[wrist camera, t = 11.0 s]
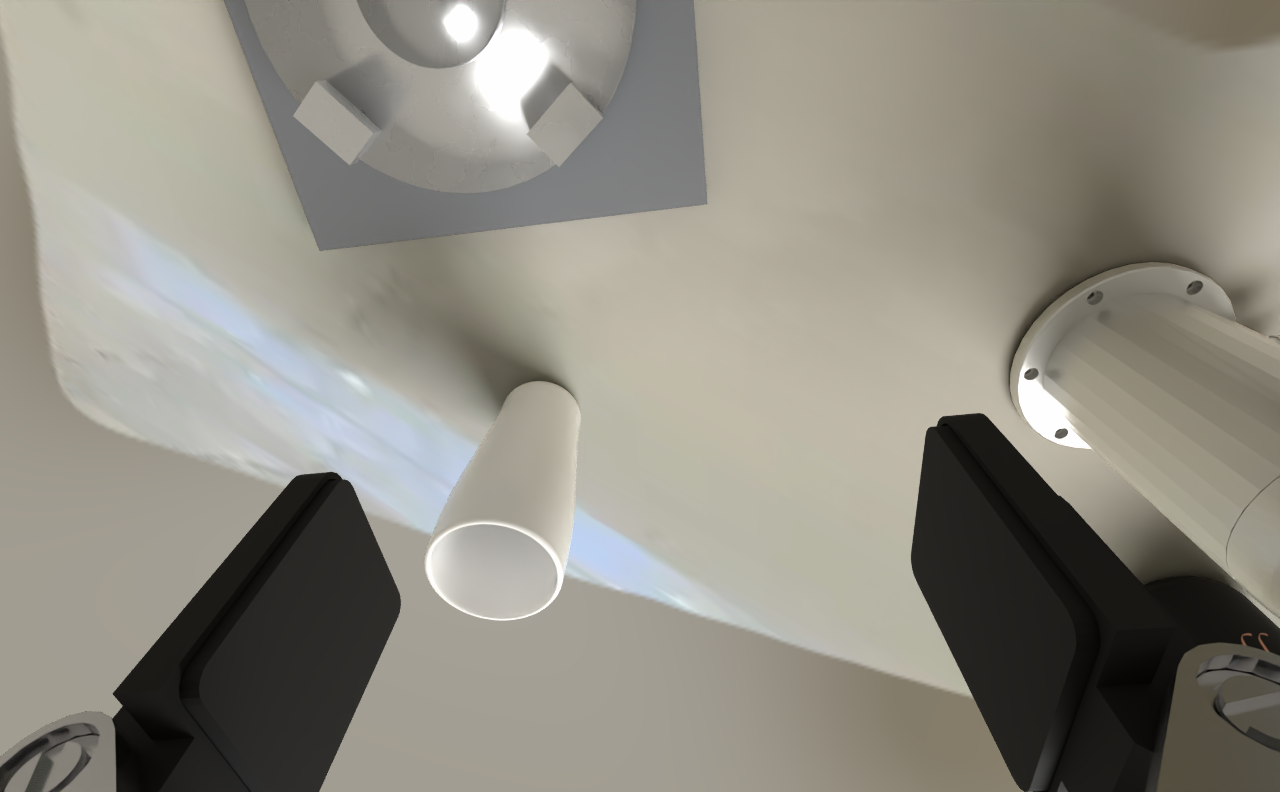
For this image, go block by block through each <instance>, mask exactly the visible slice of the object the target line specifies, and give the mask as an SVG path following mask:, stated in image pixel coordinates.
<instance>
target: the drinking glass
mask: <svg viewBox="0 0 1280 792" xmlns="http://www.w3.org/2000/svg"><path fill="white" fill-rule="evenodd" d="M580 424H581V414H580V409H579V406H578V404H577V402H576V400H575V399H574V398H573V396H572V395H571V394H570V393H569V392H568V391H566V390H565V389H564V388H562V387H560V386H559V385H556V384H554V383H550V382H545V381H532V382H528V383H524V384H522V385H520V386H518V387H517V388H515V389H514V390H513V391H512V392H511V393H510V394H509V395H508V396H507V398H506V399H505V401H504V403H503V406H502V408H501V410H500V412H499V414H498V416H497V418H496V419H495V421H494V423H493V424H492V426H491V427H490V429H489V431H488V432H487V434H486V436H485V437H484V439H483V441H482V442H481V444H480V445H479V447H478V449H477V450H476V452H475V453H474V455H473V457H472V458H471V460H470V461H469V463H468V465H467V466H466V468H465V469H464V471H463V473H462V474H461V476H460V478H459V479H458V481H457V483H456V484H455V486H454V488H453V490H452V491H451V493H450V495H449V497H448V499H447V501H446V503H445V505H444V507H443V509H442V512H441V514H440V516H439V519H438V521H437V523H436V526H435V528H434V531H433V533H432V536H431V539H430V542H429V544H428V547H427V549H426V552H425V558H424V566H425V572H426V575H427V578H428V580H429V582H430V584H431V586H432V587H433V589H434V590H435V591H436V592H437V593H438V595H440V597H441V598H442V599H444V600H445V601H446V602H447V603H449V604H450V605H452V606H453V607H455V608H457V609H458V610H460V611H463V612H465V613H468V614H470V615H473V616H476V617H480V618H484V619H491V620H514V619H520V618H524V617H527V616H531V615H533V614H535V613H537V612H539V611H541V610H543V609H544V608H545V607H547V606H548V605H549V604H550V603H551V602H552V601H553V600H554V599H555V598H556V596H557V595H558V593H559V591H560V589H561V586H562V582H563V577H564V573H565V569H566V565H567V561H568V556H569V552H570V546H571V540H572V533H573V525H574V514H575V493H576V470H577V450H578V435H579V430H580Z"/></svg>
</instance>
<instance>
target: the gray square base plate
mask: <svg viewBox="0 0 1280 792" xmlns="http://www.w3.org/2000/svg"><path fill="white" fill-rule="evenodd" d="M224 2H225V5H226V7H227V10H228V13H229V15H230V18H231V20H232V23H233V26H234V28H235V31H236V34H237V36H238V39H239V41H240V44H241V47H242V49H243V52H244V54H245V57H246V60H247V62H248V65H249V68H250V70H251V73H252V75H253V78H254V81H255V83H256V86H257V89H258V91H259V94H260V96H261V99H262V102H263V104H264V107H265V109H266V112H267V115H268V117H269V120H270V123H271V125H272V128H273V130H274V133H275V136H276V138H277V141H278V143H279V146H280V149H281V151H282V154H283V157H284V159H285V162H286V164H287V167H288V170H289V172H290V175H291V178H292V180H293V183H294V185H295V188H296V191H297V193H298V196H299V198H300V201H301V204H302V206H303V209H304V212H305V214H306V217H307V219H308V222H309V225H310V227H311V230H312V233H313V235H314V238H315V240H316V243H317V246H318V248H319V251H323V250H332V249H340V248H348V247H356V246H365V245H373V244H381V243H390V242H398V241H406V240H414V239H423V238H431V237H439V236H448V235H456V234H464V233H473V232H481V231H489V230H497V229H506V228H514V227H522V226H531V225H539V224H547V223H555V222H564V221H572V220H580V219H589V218H597V217H605V216H614V215H622V214H630V213H638V212H647V211H655V210H663V209H672V208H680V207H688V206H696V205H705V204H707V192H706V177H705V162H704V148H703V133H702V119H701V104H700V89H699V75H698V60H697V45H696V31H695V16H694V2H693V0H637V4H636V21H635V27H634V33H633V39H632V45H631V50H630V53H629V57H628V60H627V63H626V67H625V70H624V73H623V76H622V78H621V80H620V83H619V85H618V87H617V90H616V92H615V94H614V96H613V98H612V100H611V101H610V103H609V105H608V107H607V108H606V110H605V112H604V113H603V115H604V118H603V119H602V120H601V121H600V122H599V123H598V124H597V125H596V127H595V128H594V129H593V130H592V131H591V132H590V133H589V134H588V135H587V137H586V138H585V139H584V140H583V141H582V142H581V143H580V144H579V146H578V147H577V148H576V149H575V150H574V151H573V152H572V153H571V154H570V156H569V157H568V158H567V159H566V160H565V161H564V162H563V163H562V164H561V166H560V167H558V166H557V165H556V164H555V165H554V166H553V167H551V168H550V169H549V170H547V171H545V172H543V173H541V174H539V175H537V176H536V177H534V178H532V179H530V180H528V181H525V182H522V183H519V184H517V185H514V186H511V187H508V188H504V189H499V190H494V191H489V192H479V193H452V192H441V191H436V190H431V189H426V188H422V187H418V186H415V185H412V184H409V183H406V182H403V181H400V180H397V179H395V178H393V177H391V176H389V175H386V174H384V173H382V172H380V171H378V170H376V169H374V168H372V167H371V166H369V165H368V164H366V163H364V162H363V161H361V160H360V161H359V162H357V163H355V164H352V165H349V164H347V163H346V162H345V161H344V160H343V159H342V158H341V157H339V156H338V155H337V154H336V153H335V152H334V151H333V150H331V149H330V148H329V147H328V146H327V145H326V144H324V143H323V142H322V141H321V140H320V139H319V138H318V137H316V136H315V135H314V134H313V133H312V132H311V131H310V130H308V129H307V128H306V127H305V126H304V125H303V124H302V123H300V122H299V121H298V120H297V119H296V118H295V117H294V116H293V115H294V113H295V112H296V110H297V109H298V107H299V106H300V105H299V103H298V102H297V101H296V100H295V99H294V97H293V96H292V94H291V93H290V91H289V90H288V89H287V87H286V86H285V84H284V83H283V81H282V80H281V78H280V77H279V75H278V74H277V72H276V71H275V69H274V67H273V65H272V63H271V61H270V60H269V58H268V56H267V54H266V52H265V51H264V49H263V47H262V45H261V42H260V40H259V38H258V35H257V33H256V31H255V28H254V26H253V24H252V21H251V19H250V16H249V13H248V10H247V7H246V4H245V0H224Z"/></svg>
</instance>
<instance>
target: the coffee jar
mask: <svg viewBox="0 0 1280 792" xmlns="http://www.w3.org/2000/svg"><path fill="white" fill-rule="evenodd" d="M1144 587H1145V588H1146V589H1147V590H1148V591H1149V592H1150V593H1151V594H1152V595H1153V597H1154V598H1155V599H1156V600H1157V601H1158V602H1159V603H1160V604H1161V605H1162V606H1163V608H1164V609H1165V610H1166V611H1167V612H1168V613H1169V614H1170V615H1171V616H1172V617H1173V619H1174V620H1175V621H1176V622H1177V623H1178V624H1179V625H1180V626H1181V627H1182V628H1183V630H1184V631H1185V632H1186V633H1187V634H1188V635H1189V636H1190V637H1191V638H1192V639H1193V641H1194V642H1195V643H1196V644H1197V645H1204V644H1212V643H1219V642H1220V643H1230V644H1239V645H1246V646H1250V647H1253V648H1257V649H1260V650H1264V651H1267V652H1271V653H1274V654H1276V655H1279V656H1280V628H1279V627H1277V626H1276V625H1275V624H1274V623H1273V622H1272V621H1271V620H1270V619H1269V618H1268V617H1267V616H1266V615H1265V614H1263V613H1262V612H1261V611H1260V610H1259V609H1258V608H1257V607H1256V606H1255V605H1254V604H1253V603H1252V602H1251V601H1250V600H1248V599H1247V598H1246V597H1245V596H1244V595H1243V594H1242V593H1240V592H1239V591H1237V590H1235V589H1233V588H1231V587H1230V586H1228V585H1226V584H1223V583H1221V582H1215V581H1211V580H1209V579H1205V578H1199V577H1194V576H1184V577H1171V578H1167V579H1163V580H1159V581H1155V582H1152V583H1149V584H1147V585H1145V586H1144Z"/></svg>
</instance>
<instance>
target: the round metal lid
mask: <svg viewBox="0 0 1280 792" xmlns="http://www.w3.org/2000/svg"><path fill="white" fill-rule="evenodd" d="M245 4H246V7H247V10H248V13H249V16H250V19H251V21H252V24H253V26H254V28H255V31H256V33H257V35H258V38H259V40H260V42H261V45H262V47H263V49H264V51H265V52H266V54H267V56H268V58H269V60H270V61H271V63H272V65H273V67H274V69H275V71H276V72H277V74H278V75H279V77H280V78H281V80H282V81H283V83H284V84H285V86H286V87H287V89H288V90H289V91H290V93H291V94H292V96H293V97H294V99H295V100H296V101H297V102H298V103H299V105H300V106H299V107H298V109H297V110H296V112H295V113H294V115H293V116H294V117H295V118H296V119H297V120H298V121H299V122H300V123H302V124H303V125H304V126H305V127H306V128H307V129H308V130H310V131H311V132H312V133H313V134H314V135H315V136H316V137H318V138H319V139H320V140H321V141H322V142H323V143H324V144H326V145H327V146H328V147H329V148H330V149H331V150H333V151H334V152H335V153H336V154H337V155H338V156H339V157H341V158H342V159H343V160H344V161H345V162H346V163H347V164H349V165H352V164H355V163H357V162H359V161H360V160H361V161H363V162H364V163H366V164H368V165H369V166H371V167H372V168H374V169H376V170H378V171H380V172H382V173H384V174H386V175H389V176H391V177H393V178H395V179H397V180H400V181H403V182H406V183H409V184H412V185H415V186H418V187H422V188H426V189H431V190H436V191H441V192H452V193H479V192H489V191H494V190H499V189H504V188H508V187H511V186H514V185H517V184H519V183H522V182H525V181H528V180H530V179H532V178H534V177H536V176H537V175H539V174H541V173H543V172H545V171H547V170H549V169H550V168H551V167H553V166H554V165H555V164H556V165H557V166H558V167H560V166H561V164H562V163H563V162H564V161H565V160H566V159H567V158H568V157H569V156H570V154H571V153H572V152H573V151H574V150H575V149H576V148H577V147H578V146H579V144H580V143H581V142H582V141H583V140H584V139H585V138H586V137H587V135H588V134H589V133H590V132H591V131H592V130H593V129H594V128H595V127H596V125H597V124H598V123H599V122H600V121H601V120H602V119H603V118H604V115H603V113H604V112H605V110H606V108H607V107H608V105H609V103H610V101H611V100H612V98H613V96H614V94H615V92H616V90H617V87H618V85H619V83H620V80H621V78H622V76H623V73H624V70H625V67H626V63H627V60H628V57H629V53H630V50H631V45H632V39H633V33H634V27H635V21H636V4H637V0H245Z"/></svg>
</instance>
